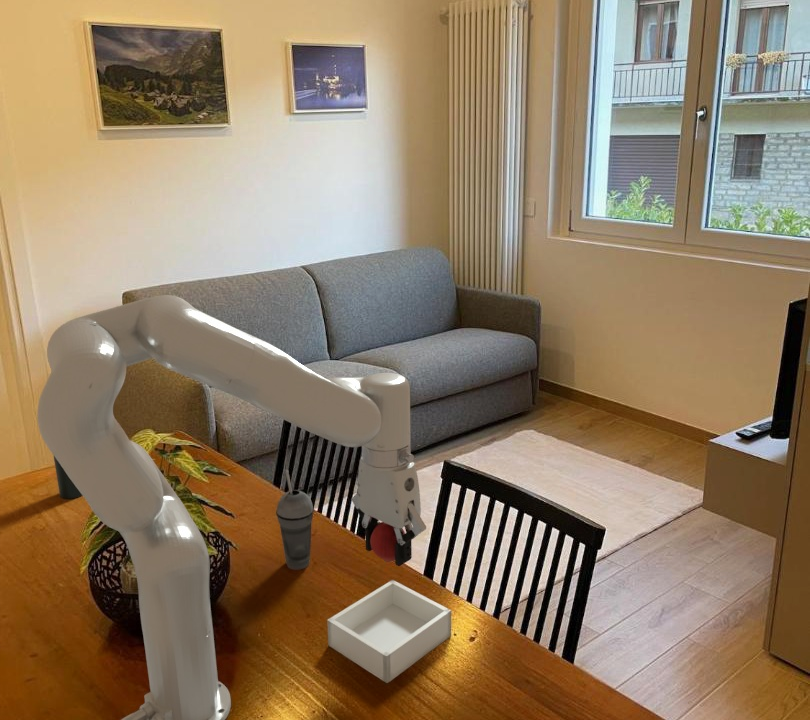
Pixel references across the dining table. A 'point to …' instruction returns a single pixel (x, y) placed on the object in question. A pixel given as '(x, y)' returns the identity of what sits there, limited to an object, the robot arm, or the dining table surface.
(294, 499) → the beverage cup
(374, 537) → the onion
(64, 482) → the wine bottle
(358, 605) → the bin
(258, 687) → the dining table surface
